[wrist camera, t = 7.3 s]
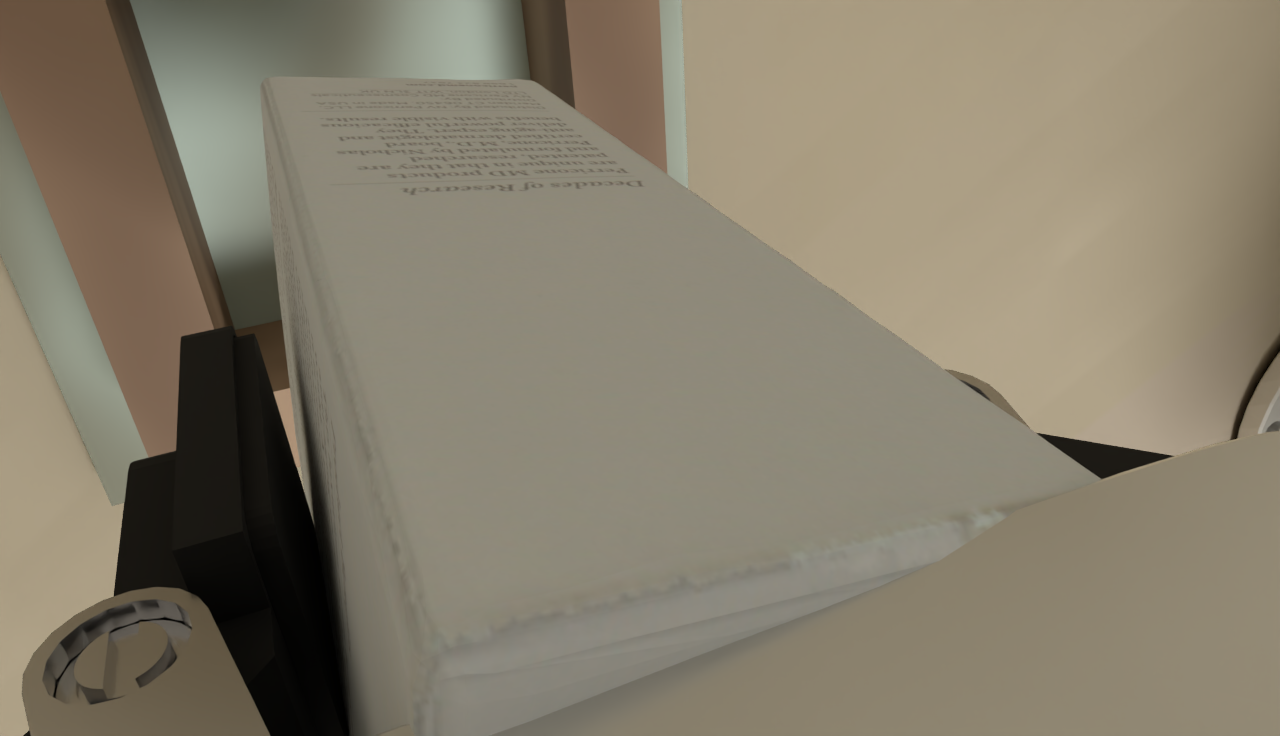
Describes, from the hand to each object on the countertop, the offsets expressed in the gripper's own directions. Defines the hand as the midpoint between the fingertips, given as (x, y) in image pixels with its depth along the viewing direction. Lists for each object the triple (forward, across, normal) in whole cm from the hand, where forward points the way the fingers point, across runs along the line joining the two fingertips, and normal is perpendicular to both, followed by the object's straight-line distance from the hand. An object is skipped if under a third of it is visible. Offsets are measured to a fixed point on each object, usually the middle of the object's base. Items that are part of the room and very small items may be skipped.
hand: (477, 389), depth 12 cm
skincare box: (+5, 0, 0) cm, 5 cm away
